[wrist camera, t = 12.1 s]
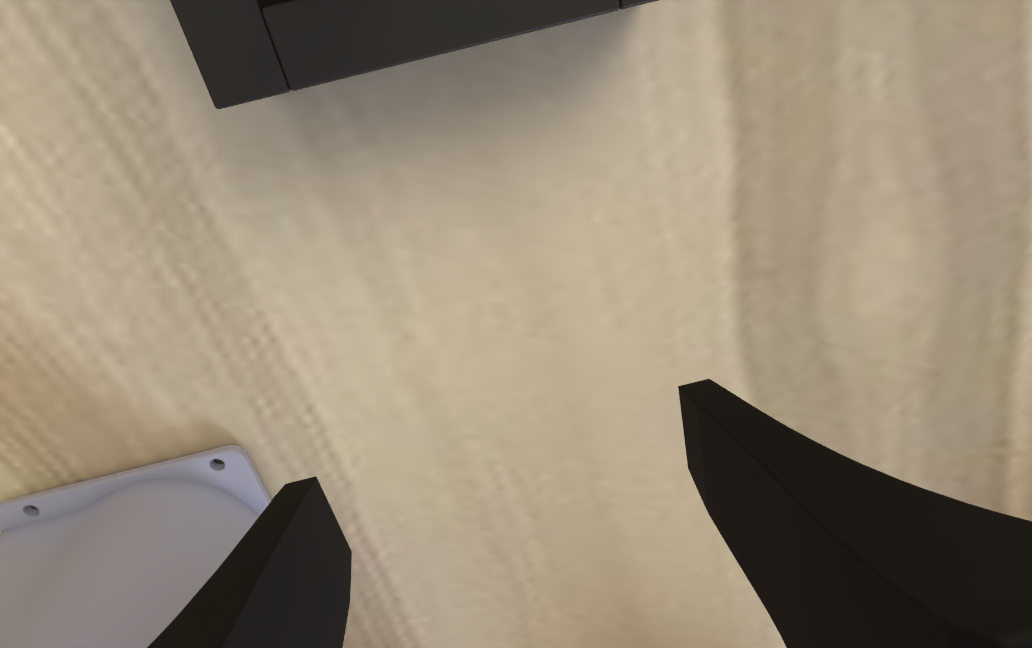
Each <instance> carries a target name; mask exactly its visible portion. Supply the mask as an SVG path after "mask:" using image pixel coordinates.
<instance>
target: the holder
mask: <svg viewBox="0 0 1032 648" xmlns="http://www.w3.org/2000/svg"><path fill="white" fill-rule="evenodd" d="M170 1H171V3H172V6H173V8H174V11H175V13H176V15H177V18H178V20H179V22H180V25H181V27H182V30H183V32H184V34H185V37H186V39H187V41H188V44H189V46H190V49H191V51H192V53H193V56H194V58H195V60H196V63H197V65H198V68H199V70H200V72H201V75H202V77H203V80H204V82H205V84H206V87H207V89H208V91H209V94H210V96H211V99H212V101H213V103H214V106H215V107H216V108H217V109H222V108H226V107H230V106H234V105H238V104H242V103H246V102H250V101H254V100H258V99H262V98H266V97H271V96H275V95H279V94H283V93H287V92H289V91H291V90H293V91H295V90H299V89H303V88H307V87H311V86H315V85H319V84H323V83H327V82H331V81H335V80H339V79H343V78H347V77H351V76H355V75H359V74H363V73H367V72H371V71H375V70H379V69H383V68H387V67H391V66H395V65H399V64H403V63H408V62H412V61H416V60H420V59H424V58H428V57H432V56H436V55H440V54H444V53H448V52H452V51H456V50H460V49H464V48H468V47H472V46H476V45H480V44H484V43H488V42H492V41H496V40H500V39H504V38H508V37H512V36H516V35H520V34H524V33H528V32H532V31H537V30H541V29H545V28H549V27H553V26H557V25H561V24H565V23H569V22H573V21H577V20H581V19H585V18H589V17H593V16H597V15H601V14H605V13H609V12H613V11H617V10H618V9H625V8H629V7H633V6H637V5H641V4H645V3H649V2H654V1H658V0H170Z"/></svg>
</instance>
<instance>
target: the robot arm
mask: <svg viewBox="0 0 1032 648" xmlns="http://www.w3.org/2000/svg"><path fill="white" fill-rule="evenodd" d="M678 388H679V396H680V404H681V412H682V421H683V429H684V437H685V446H686V454H687V462H688V469H689V471H690V473H691V476H692V478H693V480H694V482H695V485H696V487H697V489H698V492H699V494H700V496H701V498H702V500H703V503H704V505H705V507H706V509H707V511H708V513H709V515H710V517H711V518H712V520H713V522H714V524H715V525H716V527H717V529H718V530H719V532H720V534H721V535H722V537H723V539H724V540H725V542H726V544H727V545H728V547H729V549H730V550H731V552H732V554H733V555H734V557H735V558H736V560H737V562H738V563H739V565H740V567H741V568H742V570H743V572H744V573H745V575H746V577H747V578H748V580H749V582H750V583H751V585H752V586H753V588H754V590H755V591H756V593H757V595H758V596H759V598H760V600H761V601H762V603H763V605H764V606H765V608H766V610H767V611H768V613H769V615H770V617H771V618H772V620H773V622H774V624H775V626H776V627H777V629H778V631H779V633H780V635H781V637H782V639H783V641H784V643H785V645H786V647H787V648H1032V521H1028V520H1024V519H1020V518H1017V517H1013V516H1009V515H1005V514H1001V513H998V512H995V511H991V510H988V509H984V508H981V507H978V506H974V505H971V504H968V503H965V502H962V501H959V500H956V499H953V498H950V497H947V496H944V495H941V494H938V493H935V492H932V491H929V490H926V489H923V488H920V487H918V486H915V485H912V484H910V483H907V482H904V481H902V480H899V479H897V478H894V477H892V476H889V475H887V474H884V473H882V472H880V471H877V470H875V469H872V468H870V467H868V466H865V465H863V464H861V463H858V462H856V461H854V460H852V459H850V458H847V457H845V456H843V455H841V454H839V453H837V452H835V451H833V450H831V449H829V448H827V447H825V446H823V445H821V444H819V443H817V442H815V441H813V440H811V439H809V438H807V437H806V436H804V435H802V434H800V433H798V432H796V431H794V430H793V429H791V428H789V427H787V426H786V425H784V424H782V423H780V422H779V421H777V420H775V419H773V418H772V417H770V416H768V415H767V414H765V413H763V412H762V411H760V410H758V409H757V408H755V407H754V406H752V405H750V404H749V403H747V402H745V401H744V400H742V399H741V398H739V397H737V396H736V395H734V394H733V393H731V392H730V391H728V390H726V389H725V388H723V387H722V386H720V385H718V384H717V383H715V382H714V381H712V380H710V379H706V380H702V381H698V382H694V383H690V384H686V385H682V386H678ZM214 459H219V460H222V461H223V462H224V464H219V463H216V462H215V461H214ZM32 506H34V507H36V508H37V509H35V508H33V507H32ZM0 531H1V532H2V533H1V534H0V648H342V647H343V641H344V635H345V629H346V623H347V617H348V610H349V604H350V587H351V553H352V552H351V549H350V547H349V545H348V543H347V541H346V539H345V537H344V535H343V532H342V530H341V528H340V526H339V524H338V522H337V520H336V518H335V515H334V513H333V511H332V509H331V507H330V505H329V503H328V501H327V498H326V496H325V494H324V492H323V490H322V488H321V486H320V484H319V482H318V479H317V477H312V478H308V479H304V480H300V481H296V482H292V483H288V484H285V485H284V486H283V488H282V489H281V490H280V491H279V492H278V493H277V495H276V496H275V497H274V498H273V500H271V498H270V496H269V495H268V493H267V491H266V489H265V487H264V485H263V483H262V481H261V479H260V477H259V475H258V474H257V472H256V470H255V468H254V466H253V464H252V462H251V460H250V458H249V456H248V455H247V453H246V451H245V450H244V449H243V448H241V447H240V446H237V445H226V446H222V447H218V448H214V449H210V450H206V451H202V452H198V453H194V454H190V455H186V456H182V457H178V458H174V459H170V460H166V461H162V462H158V463H154V464H150V465H146V466H142V467H138V468H134V469H130V470H126V471H122V472H118V473H114V474H110V475H106V476H102V477H98V478H94V479H89V480H85V481H81V482H77V483H73V484H69V485H65V486H61V487H57V488H53V489H49V490H45V491H41V492H37V493H33V494H29V495H25V496H21V497H17V498H13V499H9V500H5V501H2V502H0Z"/></svg>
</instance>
